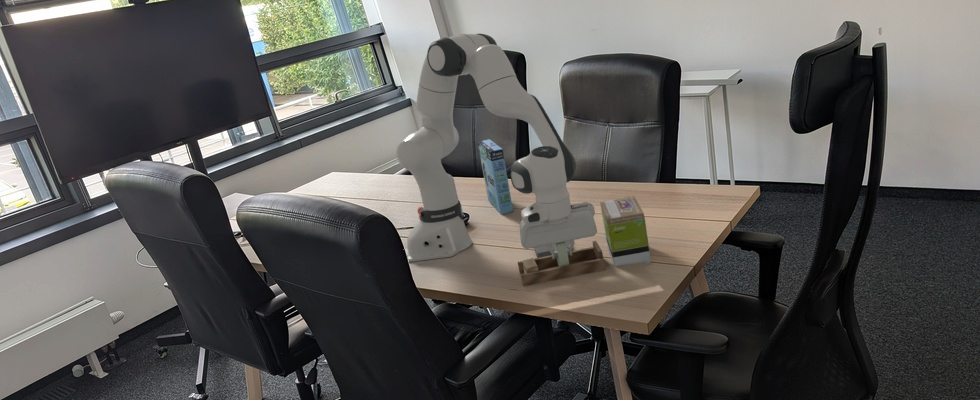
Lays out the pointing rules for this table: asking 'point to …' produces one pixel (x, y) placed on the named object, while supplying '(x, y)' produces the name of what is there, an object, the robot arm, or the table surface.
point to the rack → (578, 265)
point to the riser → (546, 250)
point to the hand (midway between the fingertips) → (562, 256)
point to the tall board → (562, 254)
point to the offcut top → (530, 265)
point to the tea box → (625, 231)
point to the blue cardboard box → (495, 176)
